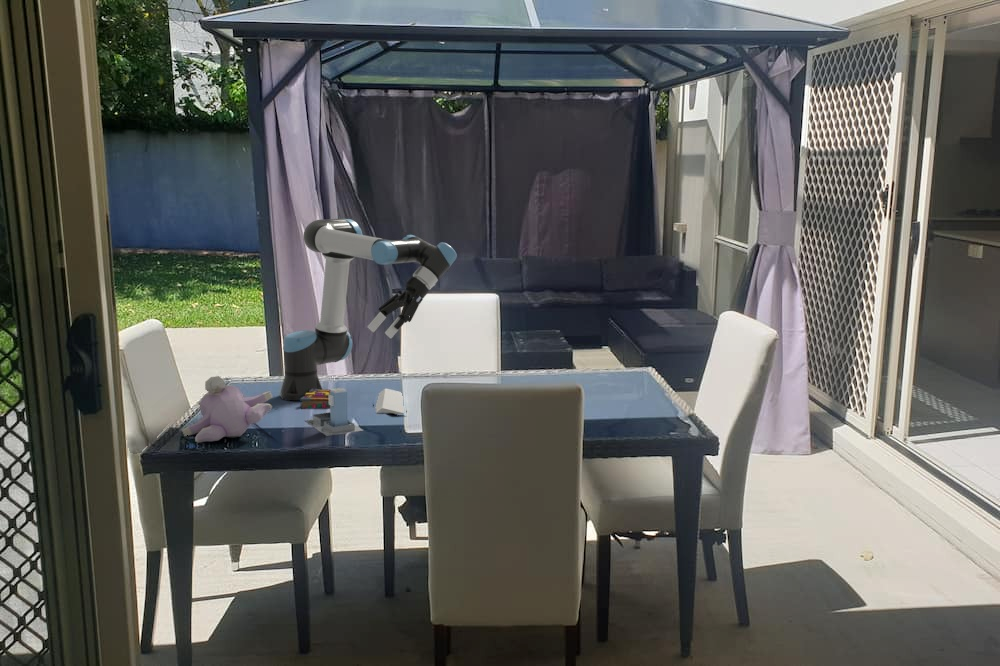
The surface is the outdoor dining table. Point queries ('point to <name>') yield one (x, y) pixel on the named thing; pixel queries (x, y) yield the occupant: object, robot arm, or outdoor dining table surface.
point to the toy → (226, 411)
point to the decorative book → (315, 399)
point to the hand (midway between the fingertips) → (378, 332)
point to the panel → (324, 425)
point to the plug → (338, 406)
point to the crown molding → (390, 402)
